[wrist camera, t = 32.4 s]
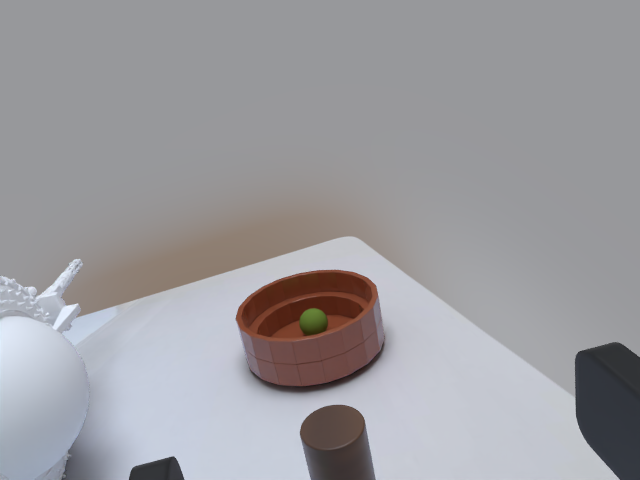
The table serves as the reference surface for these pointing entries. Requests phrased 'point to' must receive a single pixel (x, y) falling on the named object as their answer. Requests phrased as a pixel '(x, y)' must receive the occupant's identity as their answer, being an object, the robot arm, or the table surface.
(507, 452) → the table surface
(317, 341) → the bowl
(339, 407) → the stick
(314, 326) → the ball
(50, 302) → the tracked sphere vehicle
